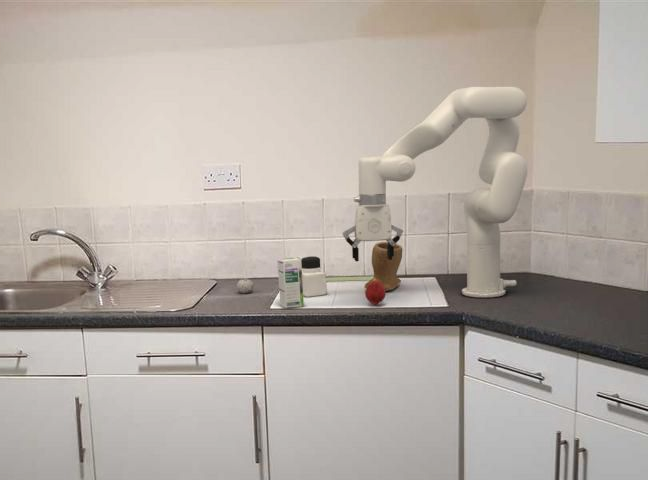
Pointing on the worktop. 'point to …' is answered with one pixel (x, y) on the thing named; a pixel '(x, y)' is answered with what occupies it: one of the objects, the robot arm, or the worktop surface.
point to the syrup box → (290, 282)
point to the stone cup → (385, 265)
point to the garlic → (245, 286)
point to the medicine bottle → (313, 277)
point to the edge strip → (349, 278)
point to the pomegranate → (375, 292)
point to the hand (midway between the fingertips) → (373, 260)
